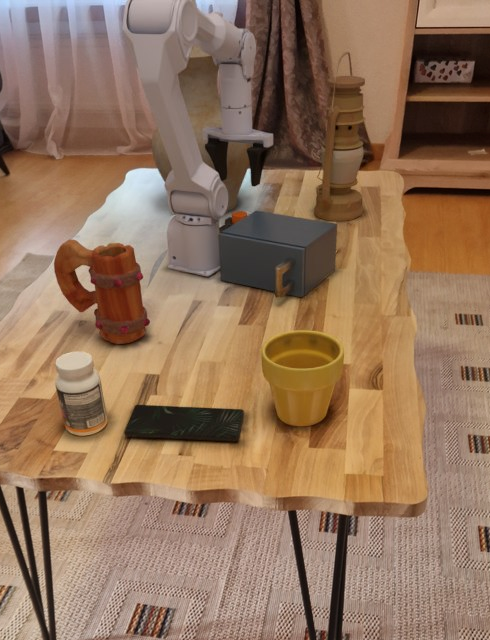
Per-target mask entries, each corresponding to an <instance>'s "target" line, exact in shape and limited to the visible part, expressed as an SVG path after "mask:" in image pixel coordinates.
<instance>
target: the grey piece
mask: <svg viewBox="0 0 490 640" xmlns="http://www.w3.org/2000/svg"><path fill="white" fill-rule="evenodd" d="M218 239H219V257H220V270H219V272H220V273H219V275H220V281H223V282H228V283H232V284H237V285H238V284H239V285H242V286H248V287H252V288H256V289H262V290H265V291H271V292H274V293H275V294H274V296H275V297H276V298H279V299H280V298H282V297H284V296H286V295H288V296H294V297H299V298H303V297H305V296H304V265H305V248H300V247H295V246H289V245H284V244H278V243H273V242H267V241H262V240H256V239H250V238H245V237H239V236H234V235H228V234H223V233H220V234H218Z"/></svg>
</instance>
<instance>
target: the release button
mask: <svg viewBox="0 0 490 640" xmlns="http://www.w3.org/2000/svg"><path fill="white" fill-rule="evenodd" d="M247 216H248V212H246V211H244V210H238V211H237V210H236V211H233V212H232V213H231V217H232V223H234V224H235V223H237V222H238V221H240V220H242V219H243V218H245V217H247Z"/></svg>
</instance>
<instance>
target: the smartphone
mask: <svg viewBox="0 0 490 640" xmlns="http://www.w3.org/2000/svg"><path fill="white" fill-rule="evenodd" d="M244 416H245V411H244V409H242V408H241V409H240V408H220V407H199V406H176V405H175V406H173V405H154V404H153V405H151V404H136V405H134V407H133V409H132V411H131V415H130V417H129V420H128V421H127V424H126V426H125V428H124V431H123V434H124V436H125V437H132V438H133V437H134V438H136V439H153V438H154V439H155V438H156V439H177V440H195V441H196V440H197V441H213V442H218V441H219V442H235V443H236V442H239V440H240V437H241V430H242V425H243V422H244V421H243V420H244Z"/></svg>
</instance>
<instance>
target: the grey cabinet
mask: <svg viewBox="0 0 490 640" xmlns="http://www.w3.org/2000/svg"><path fill="white" fill-rule="evenodd" d="M222 233H223V234H228V235H234V236H239V237H245V238H250V239H256V240H262V241H267V242H273V243H278V244H284V245H289V246H295V247H300V248H305V265H304V296H303V297H305V296H306V295H307V294H309V293H310V292H311V291H313V290H314V288H316V287H317V286H318V285H320V283H322V282H323V281H324V280H325V279H327V278H328V277H330V276H331V275H332V274H333V273H334V272H335V271H336V257H337V234H338V223H335V222H329V221H324V220H317V219H310V218H304V217H299V216H298V217H297V216H292V215H286V214H279V213H273V212H266V211H260V210H255V211H253V212H251V213H249V214H247V217H245V218H243V219H242V220H240V221H238V222H237V223H235V224H233V225H232V226H230V227H228V228H227V229H225V230H224V231H222Z"/></svg>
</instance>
